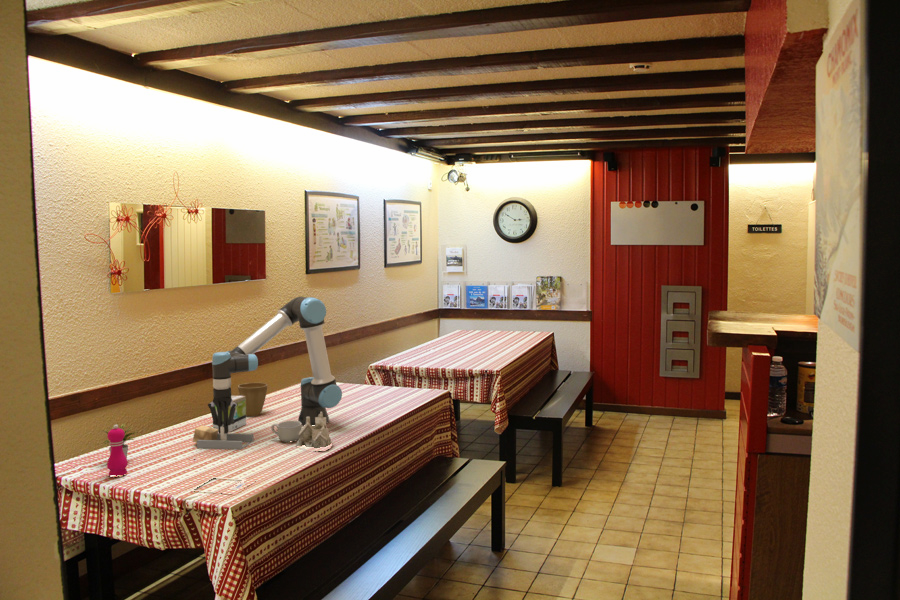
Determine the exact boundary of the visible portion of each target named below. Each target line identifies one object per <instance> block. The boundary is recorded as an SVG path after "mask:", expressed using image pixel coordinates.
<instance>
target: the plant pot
mask: <svg viewBox="0 0 900 600" xmlns="http://www.w3.org/2000/svg"><path fill="white" fill-rule="evenodd" d="M237 387H238V394H239V395H238V396H246V417H257V416H260V415H261V414H262V411H263V408H264V405H265V403H266V402H265V401H266V396H267V391H268V390H267V389H268V384H267V383H265V382H246V383H245V382H244V383H241V384H238V386H237Z"/></svg>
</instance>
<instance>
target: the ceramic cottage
mask: <svg viewBox="0 0 900 600" xmlns="http://www.w3.org/2000/svg"><path fill="white" fill-rule="evenodd" d="M331 443H332V444H333V442H332V439H331V437H330V429H329V428H327V424H326V417H323V413H322V412H320V414H319V415H318V417H315V426H312V425H310V417H306V424H305V426H303V427H301V430H300V432H299V439H298V440H297V441H296V447H297V446H302V445H305V446H306V447H314V448H320V447H326V446H328V445H330V444H331Z"/></svg>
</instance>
